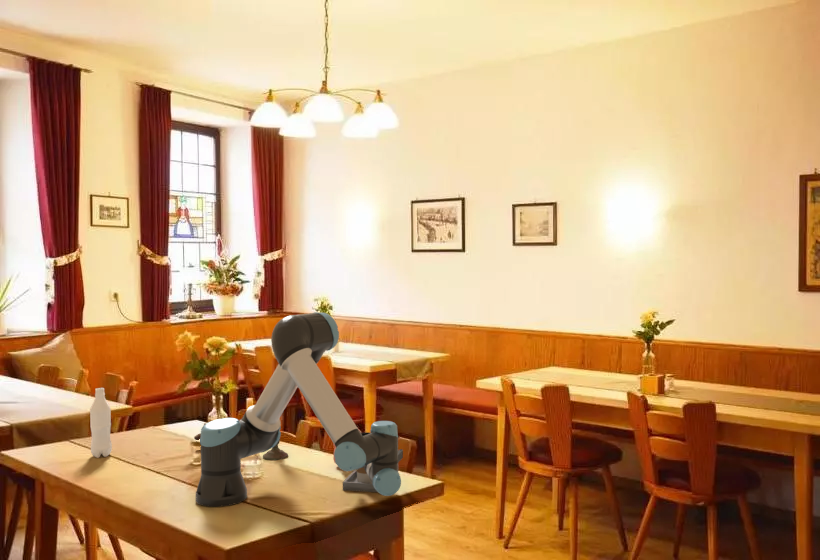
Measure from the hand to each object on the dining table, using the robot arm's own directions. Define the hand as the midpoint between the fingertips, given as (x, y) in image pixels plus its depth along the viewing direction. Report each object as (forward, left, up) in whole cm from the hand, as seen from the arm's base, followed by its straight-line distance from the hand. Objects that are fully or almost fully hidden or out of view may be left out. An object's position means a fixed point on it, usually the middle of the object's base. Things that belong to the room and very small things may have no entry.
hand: (366, 449), depth 235 cm
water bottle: (+13, +105, -11) cm, 107 cm away
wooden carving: (+33, +69, -11) cm, 78 cm away
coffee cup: (-2, 0, -10) cm, 10 cm away
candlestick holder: (+24, +41, -11) cm, 49 cm away
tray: (-1, -1, -11) cm, 11 cm away
